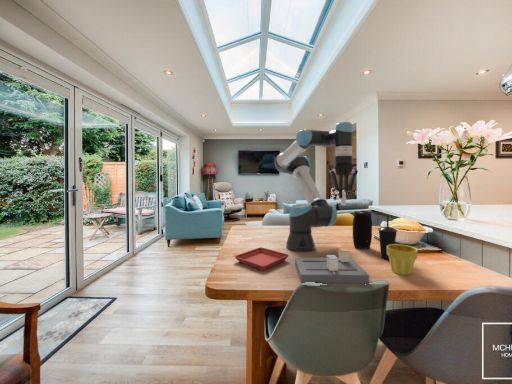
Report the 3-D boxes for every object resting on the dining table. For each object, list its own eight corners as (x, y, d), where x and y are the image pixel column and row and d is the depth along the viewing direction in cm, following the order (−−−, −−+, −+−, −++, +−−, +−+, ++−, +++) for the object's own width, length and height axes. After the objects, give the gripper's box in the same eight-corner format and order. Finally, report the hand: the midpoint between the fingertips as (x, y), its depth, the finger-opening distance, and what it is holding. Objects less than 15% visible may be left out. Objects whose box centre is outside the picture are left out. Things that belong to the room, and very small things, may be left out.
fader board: (300, 282, 84) (300, 274, 84) (295, 264, 102) (295, 257, 102) (369, 283, 83) (369, 274, 83) (351, 264, 101) (351, 257, 101)
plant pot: (407, 279, 86) (407, 253, 85) (380, 269, 95) (381, 246, 95) (422, 273, 91) (423, 249, 90) (396, 265, 100) (396, 242, 99)
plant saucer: (263, 273, 94) (263, 265, 94) (233, 262, 106) (233, 255, 106) (289, 261, 107) (289, 254, 107) (260, 253, 119) (260, 247, 119)
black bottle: (399, 261, 104) (400, 217, 103) (380, 260, 105) (381, 216, 104) (393, 256, 111) (393, 214, 110) (375, 255, 113) (376, 214, 112)
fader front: (329, 270, 86) (329, 258, 86) (326, 266, 90) (326, 254, 90) (337, 270, 86) (338, 258, 86) (334, 266, 90) (334, 254, 90)
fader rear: (341, 262, 95) (341, 251, 94) (338, 258, 99) (338, 248, 98) (349, 262, 94) (349, 251, 94) (345, 258, 99) (345, 248, 98)
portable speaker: (373, 250, 120) (373, 212, 119) (353, 249, 123) (353, 212, 122) (369, 246, 128) (370, 210, 127) (351, 244, 131) (351, 210, 130)
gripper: (331, 155, 108) (331, 206, 110) (360, 154, 108) (360, 205, 109) (327, 156, 116) (327, 204, 117) (354, 156, 115) (354, 204, 116)
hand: (343, 205), depth 113 cm, fingers closed
